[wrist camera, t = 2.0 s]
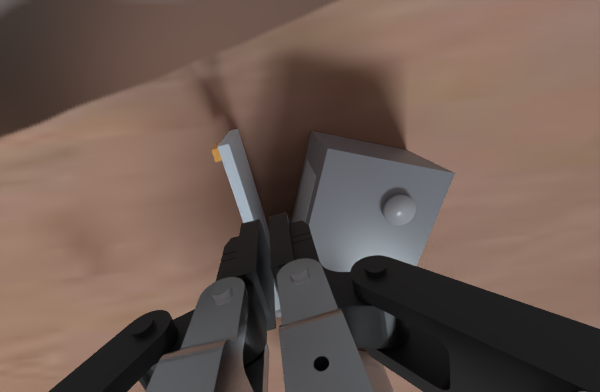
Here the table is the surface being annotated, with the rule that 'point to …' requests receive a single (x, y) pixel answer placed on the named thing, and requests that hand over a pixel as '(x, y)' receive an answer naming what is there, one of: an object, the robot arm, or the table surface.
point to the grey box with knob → (367, 200)
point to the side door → (243, 186)
